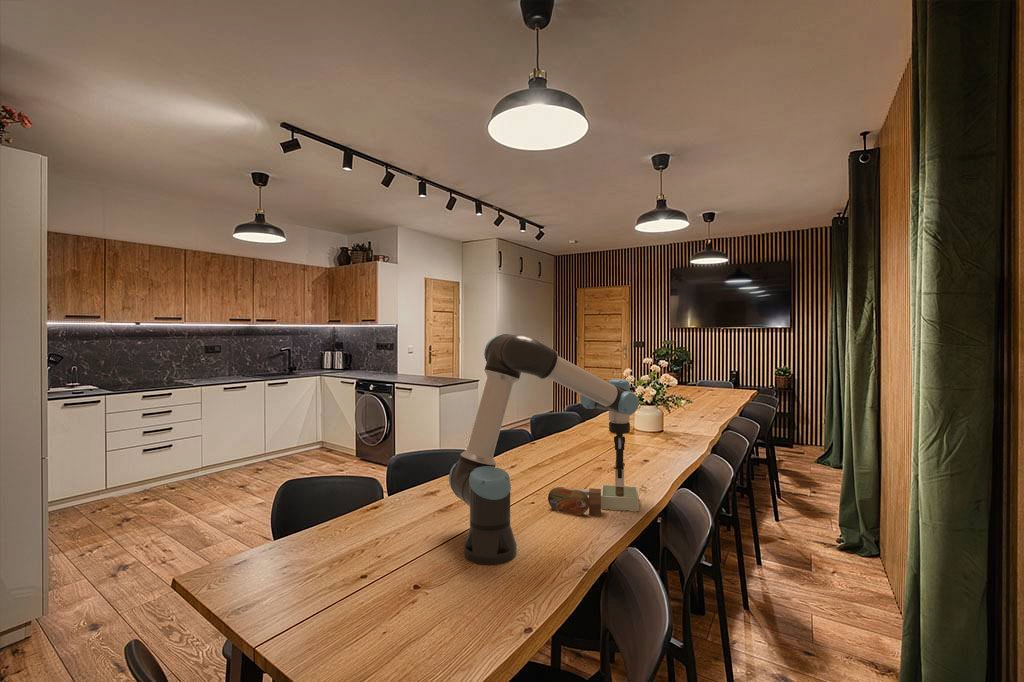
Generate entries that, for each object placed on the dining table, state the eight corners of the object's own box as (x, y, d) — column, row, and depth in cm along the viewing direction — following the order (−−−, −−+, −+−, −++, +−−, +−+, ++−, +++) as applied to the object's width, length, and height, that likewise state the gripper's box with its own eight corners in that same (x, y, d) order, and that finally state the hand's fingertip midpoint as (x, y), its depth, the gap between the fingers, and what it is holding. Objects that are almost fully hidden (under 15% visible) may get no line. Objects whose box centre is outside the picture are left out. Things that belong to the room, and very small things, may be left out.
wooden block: (600, 515, 164) (600, 492, 164) (589, 514, 165) (588, 492, 165) (600, 511, 168) (600, 488, 168) (589, 510, 169) (589, 488, 169)
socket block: (595, 506, 173) (595, 498, 173) (570, 504, 175) (570, 496, 175) (596, 498, 182) (596, 490, 182) (572, 496, 184) (572, 488, 184)
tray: (638, 511, 168) (638, 498, 168) (600, 508, 171) (600, 496, 171) (637, 498, 181) (637, 486, 181) (601, 496, 184) (601, 484, 184)
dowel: (623, 496, 174) (623, 464, 174) (615, 496, 175) (615, 463, 174) (623, 494, 177) (623, 461, 177) (615, 493, 178) (615, 461, 177)
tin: (547, 509, 171) (547, 486, 171) (551, 506, 173) (551, 483, 173) (586, 518, 163) (586, 493, 163) (590, 515, 165) (590, 490, 165)
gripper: (630, 426, 167) (630, 492, 167) (629, 418, 182) (629, 479, 183) (608, 425, 168) (609, 491, 169) (609, 417, 184) (609, 478, 184)
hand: (619, 484), depth 176 cm, fingers closed on dowel, 2 cm apart
